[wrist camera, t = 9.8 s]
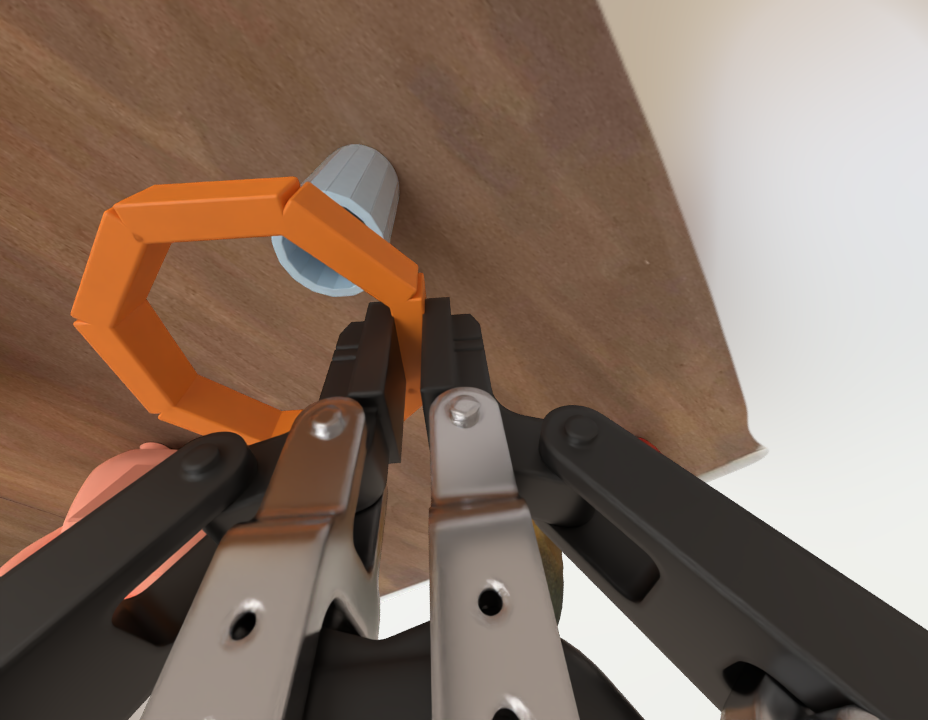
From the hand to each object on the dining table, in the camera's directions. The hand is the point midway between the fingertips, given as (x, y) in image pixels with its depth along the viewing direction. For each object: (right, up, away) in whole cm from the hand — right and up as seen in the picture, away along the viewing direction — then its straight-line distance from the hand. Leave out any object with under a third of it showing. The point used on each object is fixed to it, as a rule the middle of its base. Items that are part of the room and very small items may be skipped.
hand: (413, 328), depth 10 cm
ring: (-4, 0, 0) cm, 4 cm away
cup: (-5, +9, +11) cm, 15 cm away
